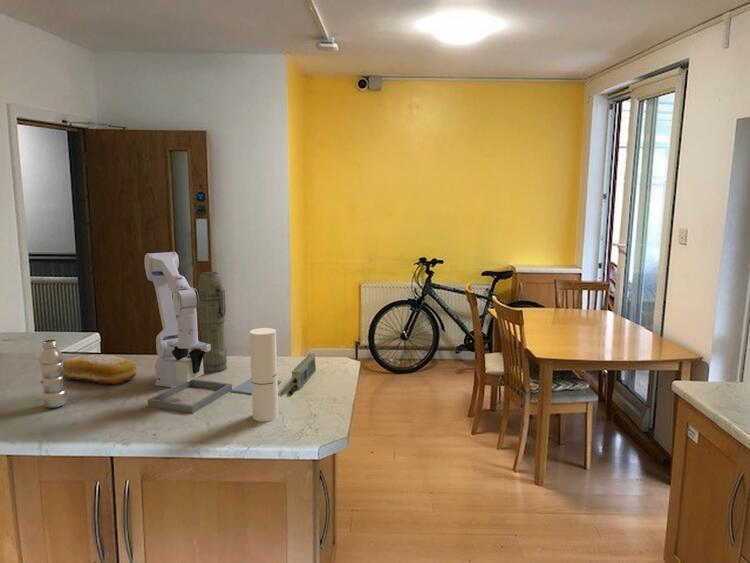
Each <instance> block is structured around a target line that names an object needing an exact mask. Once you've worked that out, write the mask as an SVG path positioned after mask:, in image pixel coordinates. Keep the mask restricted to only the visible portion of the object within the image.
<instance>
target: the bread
mask: <svg viewBox="0 0 750 563" xmlns="http://www.w3.org/2000/svg"><path fill="white" fill-rule="evenodd" d="M136 365H137V364H136V362H135V361H133V360H131V359H128V358H125V357H121V356H117V355H108V354H107V355H106V354H88V355H81V356H80V355H79V356H75V357H74V356H73V357H70V358H68V359H66V360H65V361H64V360H63V377H64V378H65V379H68V380H73V381H81V382H87V383H90V384H96V385H97V384H98V385H107V386H112V385H117V384H120V383H121V384H122V383H126V382H129V381H131V380H132V379H134V378H135V377H136V375H137V370H136V369H137V367H136Z"/></svg>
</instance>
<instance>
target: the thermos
mask: <svg viewBox="0 0 750 563" xmlns="http://www.w3.org/2000/svg"><path fill="white" fill-rule="evenodd" d="M195 289H196V290H197V292H198V295H199V306H198V307H197V312H198V313H197V314H198V323H199V325H200V337H201V338H200V339H201V341H200V342H203V343H206V344H210V345H211V350H210V351H208V352H205V354H204V356H203V369H204V373H206V374H215V373H221V372H224V371H226V370H227V369H228V366H227V362H228V359H227V357H228V356H227V348H226V346H225V329H224V326H225V325H224V323H225V321H226V319H225V318H226V317H225V316H226V308H227V307H226V290H225V289H224V287H223V286H222V278H221V276H220V274H219V272H217V271H204V272H203V271H202V273H200V275H199V279H198V285H197V287H196V288H195Z"/></svg>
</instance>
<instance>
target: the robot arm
mask: <svg viewBox="0 0 750 563" xmlns="http://www.w3.org/2000/svg"><path fill="white" fill-rule="evenodd" d="M143 261H144V269H145V275H146V277H147V280H148V281H150V282H152V283H153V285H154V289H155V294H156V299H157V300H156V301H157V304H158V310H159V315H160V316H159V317H160V320H161V326H162V330H161V331H160V332H159V333H158V334H156V335H157V336H156V338H155V343H156V346H155V347H156V354H157V356H158V358H157V359H156V362H155V367H154V368H155V383H154V385H155V386H158V387H159V386H160V387H166V388H172V387H174V386H176V385H178V384H180V383H182V381H176V367H175V361H178V360H180V359H182V358H185V357H187V356H188V355H190V357H191V361H192V368H193V373H194V374H196V373H198V372H199V370H200V365H201V361H202V359H203V356H204V354H205V352H208V351H210V350H211V345H210V344H206V343H203V342H201V341H200V340H199V331H198V329H199V328H198V313H197V312H198V309H197V308H198V306H199V295H198V292H197V290H196V288H194V287H191V286H190V284H189V282H188V281H187V278H185V276H183V275H181V274H180V271H179V266H180V260H179V255H178V253H177V252H176V251H169V252H167V251H165V252H153V253H149V252H147V253H146V254H144V260H143Z"/></svg>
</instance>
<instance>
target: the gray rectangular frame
mask: <svg viewBox="0 0 750 563" xmlns="http://www.w3.org/2000/svg"><path fill="white" fill-rule="evenodd" d="M190 387H198V388H199V387H200V388H207V389H213V390H215V391H214V392H211V393H210V394H208V395H207V396H204V397H203V398H201V399H200V400H198V401H195V402H194V403H192V404H187V403H180V402H176V401H175V402H174V401H167V400H166V399H167V398H171V397H172V396H174V395H176V394H179V393H180V392H182V391H184V390H185V389H187V388H190ZM232 389H233V384H232V383H227V382H220V381H212V380H203V379H198V378H195V379H193V380H191V381H189V382H182V383H180V384H178V385H176V386H174V387H169V388H168V389H166V390H165V391H162V392H160V393H158V394H156V395H154V396H152V397H151V398H148V399H147V407H151V408H158V409H164V410H170V411H175V412H183V413H184V412H185V413H190V414H194V413H195V412H197V411H200V410H201V409H202V408H204V407H206V406H208V405H209V404H211V403H213V402H214V401H217V400H218V399H219V398H221V397H223V396H224V395H226V394H228V393H229V392H231V390H232Z"/></svg>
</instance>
